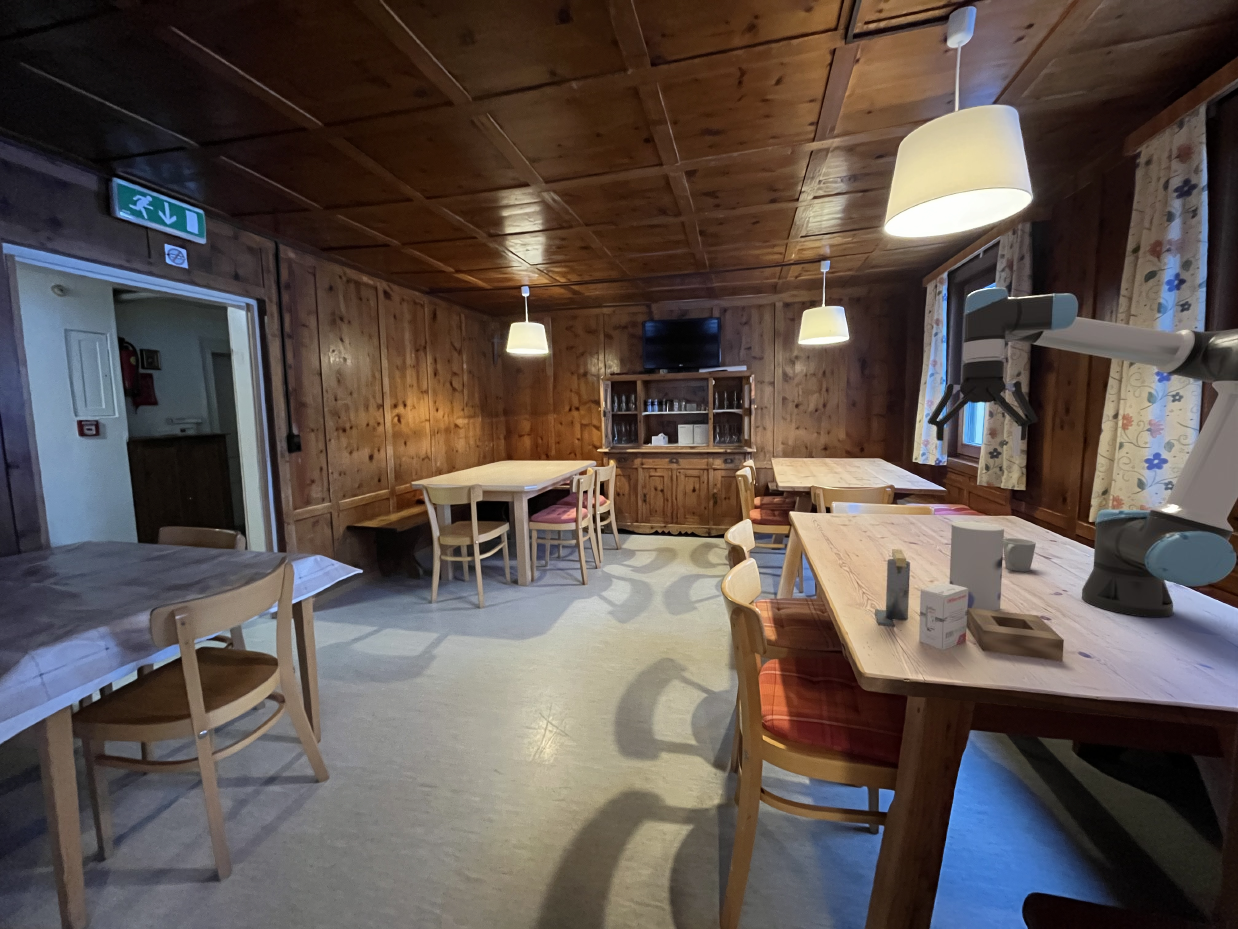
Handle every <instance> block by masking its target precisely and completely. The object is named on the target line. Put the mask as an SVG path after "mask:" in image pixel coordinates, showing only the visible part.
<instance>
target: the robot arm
mask: <svg viewBox="0 0 1238 929" xmlns="http://www.w3.org/2000/svg"><path fill="white" fill-rule="evenodd" d="M1078 302H1079V301H1078V300H1077V297H1076V296H1075V295H1074V294H1073V293H1070V292H1069V293H1055V292H1054V293H1050V294H1039V295H1030V296H1027V295H1026V296H1019V297H1018V296H1017V297H1013V296H1011V297H1009V294H1008V290H1007V289H1006V288H1004V287H991V288H990V287H989V288H983V289H978V290H975V291H973V292H971V293H969V294H968V295H967V296H966V299H965V306H964V313H963V318H964V319H963V321H964V322H963V329H964V330H963V331H964V332H963V349H962V360H963V361H964V362H965V363H963V364H962V367H961V369H962V372H961V374H962V375H961V383H960V384H953V383H948V384H946V385H945V387H944V391H943V392H944V393H943V395H942V397H941V398H940V400H939V401H938V403H937V405H936V407H935V408H934V410H933V411H932V413H931V415H930V417H929V418H928V419H927V424H928V425H931V426H934V427H936V435H935V438H936V441H938V442H940V455H941V456H948V441H949V436H948V435H949V427H948V426H945V425H946V424H947V423H948V422H950V421H951V420H952V419H953V417H955V416H956V415H957V414H958V413H959V412H960V411H961V410H962V409H963V408H964V407H965V406H966V405H967V404H969V403H971V404H978V403H994V404H996V405H997V406H998V407H999V408H1000V409H1001V410H1002V411H1003V412H1004V413H1005V414H1006V415H1007V416H1008V417H1009V418H1010V419H1011V420H1013V422H1014V423H1015V424H1016V425H1012V436H1011V437H1012V438H1011V439H1012V440H1011V456H1014V457H1020V455H1021V442H1022V441H1026V439H1027V431H1028V430H1027V428H1028V426H1029V425H1031V424H1036V423H1037V422H1039V418H1038V416H1037V415H1036V413H1035V411H1034V409H1033V407H1032V406H1031V404H1030V403H1029V401H1028V398H1027V397H1026V396H1025V394H1024V392H1023V389H1022V381H1020V380H1017V381H1012V382H1006V383H1005V381H1004V371H1005V361H1004V360H1002V359H1004V358H1005V352H1006V351H1005V349H1006V343H1011V342H1018V343H1024V344H1029V345H1031V344H1032V345H1037V346H1041V347H1047V348H1052V349H1053V348H1054V349H1059V350H1063V351H1068V352H1075V353H1080V354H1084V355H1091V356H1098V357H1102V358H1106V359H1107V358H1108V359H1113V360H1120V361H1123V362H1124V361H1125V362H1129V363H1135V364H1140V365H1145V366H1151V367H1155V368H1156V370H1157V371H1158V372H1159V373H1162V374H1168V375H1173V376H1177V377H1182V378H1188V379H1192V380H1198V381H1201V382H1206V383H1212V384H1211V386H1212V387H1213V388H1214V390H1215V391H1216V392H1217V394H1218V395H1217V397H1216V399H1215V401H1214V403H1213V406H1212V407H1211V409H1210V411H1209V414H1208V416H1207V418H1206V420H1205V422H1204V424H1203V426H1202V428H1201V430H1200V432H1199V434H1198V436H1197V438H1196V440H1195V443H1194V445H1193V446H1192V449H1191V451H1190V453H1189V454H1188V457H1187V459H1186V460H1185V462H1184V465H1183V467H1182V468H1181V471H1180V472H1179V475H1178V477H1177V479H1176V481H1175V483H1174V485H1173V487H1172V489H1171V491H1170V493H1169V495H1168V497H1167V499H1166V502H1164V503H1163V504H1160V505H1158V506H1154V507H1152V508H1151V509H1150V510H1142V509H1141V510H1139V509H1111V508H1108V509H1101V510H1099V511H1098V512H1097V515H1096V521H1095V523H1094V525H1095V536H1094V550H1093V551H1094V552H1093V568H1092V571H1091V572H1090V574H1089V575H1088V578H1087V579H1086V581H1085V583H1084V585H1083V587H1082V589H1081V599H1082V600H1083V601H1084V602H1085V603H1088V604H1090V605H1092V606H1095V607H1097V608H1101V609H1104V610H1108V611H1110V612H1116V613H1122V614H1126V615H1132V616H1136V617H1137V616H1139V617H1147V618H1148V617H1149V618H1165V617H1171V616H1172V615H1173V614H1174V603H1173V599H1172V597H1171V594H1170V591H1169V589H1168V587H1167V584H1166V582H1169V583H1173V584H1176V585H1179V586H1184V587H1201V586H1202V587H1203V586H1204V587H1205V586H1207V585H1210V584H1214V583H1218V582H1219V581H1221V580H1223V579H1224V578H1226V577H1227V576H1228V575H1229V574H1230V573H1231V572H1233V570H1234V568H1235V565H1236V564H1237V552H1235V551H1234V547H1233V545H1232V543H1230V542H1229V540H1230V538H1231V536H1232V534H1233V532H1234V529H1233V527H1232V526H1231V524H1230V523H1229V521H1228V517H1229V515H1230V513H1231V511H1232V509H1233V507H1234V505H1235V503H1236V502H1237V500H1238V328H1232V329H1228V330H1227V329H1226V330H1216V331H1198V330H1190V329H1182V330H1179V331H1176V332H1173V331H1171V332H1170V331H1165V330H1159V329H1155V328H1148V327H1147V328H1146V327H1141V326H1134V325H1131V324H1130V325H1129V324H1123V323H1117V322H1111V321H1104V320H1099V319H1094V318H1093V319H1092V318H1086V317H1079V316H1077V315H1078V310H1079V303H1078ZM1005 389H1006V390H1007V391H1008V392H1009V393H1011V395H1012V397H1013V398H1014V400H1015V402H1016V403H1017V405H1018V407H1019V409H1020V410H1021V412H1022V415H1021V414H1020V413H1019V411H1017V410H1016V409H1015V408H1014V407H1013V406H1012V405H1011V404H1010V403H1009V402H1008V401H1007V400H1006V398H1005V397H1004V396H1003V395H1002V393H1003V392H1004V391H1005ZM957 391H959V392H960V393H961V394H962V395H963V396H962V397H961V398H960V399H959V400H958V401H957V402H956V403H955V404H954V405H953V407H951V408H950V409H949V410H948V411H947V412H946V413H945V414H944V415H943V416H942V417H941V418H940V419H939V417H940V416H941V414H942V412H943V411H944V409H945V408H946V406H947V404H948V402H949V401H950V400H951V398H952V396H953V395H954V394H956V393H957ZM938 419H939V420H938Z"/></svg>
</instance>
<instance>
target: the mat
mask: <svg viewBox="0 0 1238 929" xmlns="http://www.w3.org/2000/svg"><path fill="white" fill-rule="evenodd" d="M874 613H875V616H876V621H877V625H879V626H885V627H894V628H895V627H896V625H895V622H894V619H893V620H890V619H888V618H886V609H885V610H884V609H878V608H877V609H876V608H875V609H874Z"/></svg>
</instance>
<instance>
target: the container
mask: <svg viewBox="0 0 1238 929" xmlns="http://www.w3.org/2000/svg"><path fill="white" fill-rule="evenodd" d="M1004 535H1005V528H1004V527H1003V526H1001V525H998V524H993V523H988V522H982V521H981V522H980V521H965V520H964V521H954V522H952V523H951V534H950V558H949V559H950V560H949V561H950V562H949V584H952V585H957V586H961V587H965V588H967V589H968V607H967V608H973V609H982V610H992V611H999V610H1000V609H1001V601H1002V600H1001V597H1002V581H1003V580H1002V578H1003V577H1002V576H1003V558H1004V549H1003V540H1004V539H1005V537H1004Z"/></svg>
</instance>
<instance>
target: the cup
mask: <svg viewBox="0 0 1238 929" xmlns="http://www.w3.org/2000/svg"><path fill="white" fill-rule="evenodd" d="M1035 549H1036V541H1033V540H1030V539H1025V538H1017V537H1016V538H1015V537H1004V540H1003V558H1004V565H1005V568H1006V569H1008V570H1010V571H1014V572H1019V573H1020V572H1022V573H1027V572H1030V571H1031V567H1032V563H1033V559H1034V554H1035V551H1036V550H1035Z"/></svg>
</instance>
